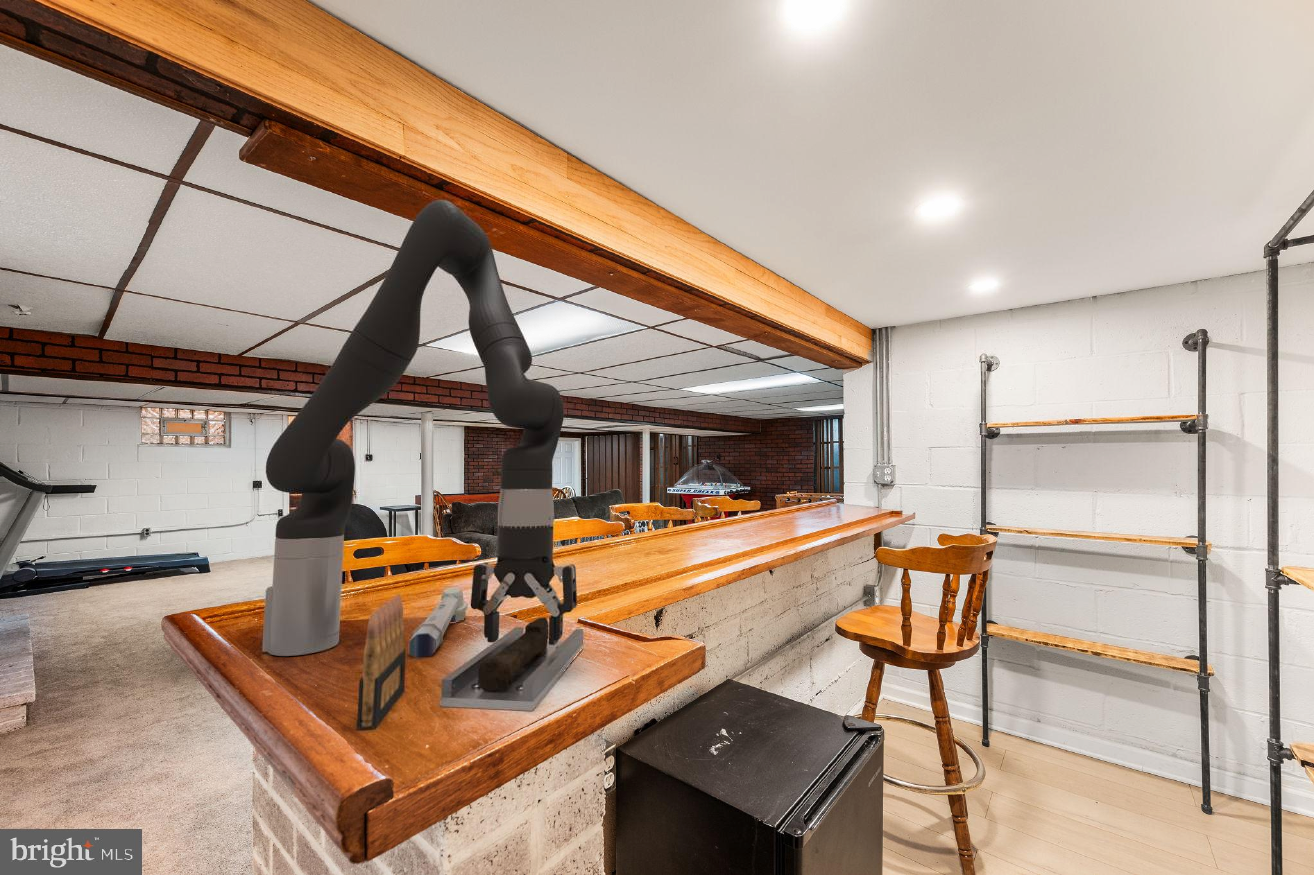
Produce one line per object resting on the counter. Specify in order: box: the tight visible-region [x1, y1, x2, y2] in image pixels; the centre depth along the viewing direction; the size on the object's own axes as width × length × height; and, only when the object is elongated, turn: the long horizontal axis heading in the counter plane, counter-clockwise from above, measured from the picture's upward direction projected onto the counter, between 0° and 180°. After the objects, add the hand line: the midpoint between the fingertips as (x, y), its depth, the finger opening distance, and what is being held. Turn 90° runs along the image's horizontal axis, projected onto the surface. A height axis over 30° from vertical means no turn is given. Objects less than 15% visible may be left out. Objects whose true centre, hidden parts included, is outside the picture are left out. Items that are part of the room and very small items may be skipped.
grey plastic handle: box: [407, 586, 469, 659], centre depth 92 cm, size 5×7×25 cm
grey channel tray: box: [440, 626, 585, 712], centre depth 73 cm, size 11×23×3 cm, turn 174°
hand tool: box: [478, 616, 549, 691], centre depth 73 cm, size 19×4×5 cm, turn 170°
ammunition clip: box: [356, 593, 407, 731], centre depth 62 cm, size 11×2×12 cm, turn 10°
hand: (523, 642), depth 73 cm, fingers open, 8 cm apart
